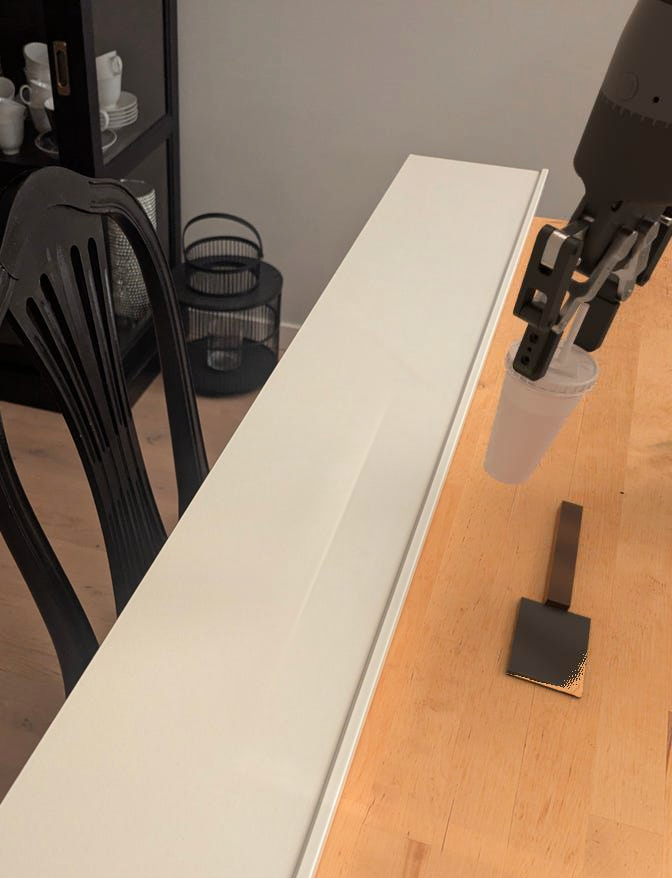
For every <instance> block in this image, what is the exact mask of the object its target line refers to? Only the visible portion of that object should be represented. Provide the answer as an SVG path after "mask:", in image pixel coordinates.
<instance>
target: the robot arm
mask: <svg viewBox="0 0 672 878" xmlns="http://www.w3.org/2000/svg"><path fill="white" fill-rule="evenodd" d="M572 165H573V169H574V172H575V173H576V175H577V176H578V177H579V178H580V179H581V182H582V183H583V186H584V189H585V190H584V191H585V193H584V195H583V196H582V198H581V199H580V201H579V203H578V205H577V207H576V208H575V210H574V212H573V213H572V214H571V216H570V218H569V220H568V222H567V223H566V225H565V226H563V227H562V228H558V227H556V226H553V225H551V224H549V223H546V224H544V225H543V226H541V228H540V229H539V231H538V232H537V234H536V238H535V240H534V244H533V246H532V247H533V248H532V250H531V253H530V256H529V259H528V262H527V265H526V269H525V271H524V274H523V278H522V281H521V285H520V287H519V290H518V294H517V296H516V300H515V303H514V306H513V309H512V315H513V317H514V316H515V317H516V318H518V319H520V320H521V321H523V322H525V323H527V326H526V328H525V331H524V333H523V336H522V337H521V338H522V341H521V343H520V346H519V348H518V351H517V353H516V356H515V358H514V361H513V364H512V366H513V369H514V370H515V371H516V372H517V373H519V374H521V375H522V376H524V377H526V378H527V379H529V380H531V381H537V380H539V379H541V378H543V377H544V376H545V374H546V372H547V370H548V367H549V365H550V363H551V360H552V358H553V356H554V353H555V351H556V349H557V346H558V344H559V342H560V340H561V339H562V338H563V335H564V333H565V331H564V330H566V328H567V326H568V324H569V323H570V321H571V320H572V319H573V317H574V315H576V313H577V311H578V309H579V307H580V305H581V303H587V304H588V305H589V308H588V310H587V313H586V315H585V317H584V319H583V322H582V324H581V326H580V328H579V331H578V333H577V335H576V337H575V340H574V342H573V344H575V345H577V346H579V347H581V348H583V349H584V350H585V351H587V352H588V353H593V352H595V351H597V350H599V349H600V348H601V347H602V345H603V342H604V341H605V338H606V336H607V334H608V332H609V330H610V328H611V326H612V323H613V321H614V319H615V317H616V315H617V313H618V311H619V309H620V306H621V305H622V304H621V302H622V303H626V301H628V299H629V298H630V297H631V296H633V295H632V294H633V291H635V290H634V289H635V287H636V286H639V288H640V287H641V288H643V287H644V286H645V285H646V284H647V283H648V282H649V281H650V279H651V277H652V275H653V273H654V271H655V269H656V267H657V265H658V263H659V262H660V259H661V258H662V256H663V254H664V252H665V250H666V248H667V247H668V245H669V242H670V241H671V239H672V0H637V2H636V3H635V6H634V7H633V9H632V11H631V13H630V15H629V17H628V19H627V21H626V23H625V25H624V27H623V29H622V31H621V33H620V36H619V38H618V40H617V43H616V46H615V49H614V50H613V54H612V56H611V59H610V62H609V64H608V67H607V70H606V72H605V75H604V78H603V80H602V83H601V84H600V87H599V90H598V93H597V95H596V98H595V101H594V103H593V106H592V108H591V112H590V114H589V116H588V119H587V122H586V124H585V127H584V130H583V133H582V135H581V137H580V140H579V143H578V145H577V148H576V151H575V154H574V156H573V160H572ZM575 272H576V273H577V274H580V275H582V276H583V277H586V278H587V279H586V280H585V281H577V280H575V279H574V278H573V276H574V273H575ZM635 285H636V286H635ZM567 293H568V297H567V299H566V300H565V297H566V295H567ZM564 301H565V302H564Z"/></svg>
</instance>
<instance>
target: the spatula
mask: <svg viewBox="0 0 672 878" xmlns="http://www.w3.org/2000/svg"><path fill="white" fill-rule="evenodd" d="M556 513H557V514H556V519H555V524H554V531H553V537H552V543H551V550H550V557H549V563H548V567H547V568H548V569H547V576H546V582H545V588H544V593H543V600H542V602H540V601H538V600H537V601H536V600H534V599H531V598H527V597H524V596H521V597H520V598H519V601H518V605H517V611H516V617H515V621H514V628H513V633H512V637H511V644H510V649H509V653H508V659H507V664H508V666H507V665H506V670H507V671H506V670H505V674H506V673H508V674H512V675H518V676H521V677H525V678H529V679H530V680H534V681H537V682H541V683H546V684H551V685H555V686H560V687H563V688H564V687H565V686H566V685H567V683H568V682H569V680H570V679H571V680H570V683H571V684H572V683H573V682H574V680H575V678H576V677H577V675H578V673H579V672H580V670H581V668H582V667H580V665H581V664H582V662H583V664H584V662H585V660H586V658H587V659H588V655H587V656H585V655H586V653H587V650H589V641H590V633H591V622H592V618H590V617H588V616H585V615H582V614H579V613H575V612H572V611H569V610H570V608H571V604H572V597H573V590H574V582H575V574H576V566H577V558H578V552H579V551H578V550H579V543H580V537H581V536H580V535H581V528H582V521H583V520H582V519H583V513H584V506H583V505H580V504H578V503H574V502H571V501H567V500H564V499H562V500H561V502H560V504H559V506H558V508H557V512H556ZM583 654H584V655H583ZM587 654H588V653H587ZM584 657H586V658H584ZM583 659H584V661H583ZM579 663H580V664H579ZM583 664H582V666H583ZM578 665H579V666H578ZM585 665H586V666H587V663H586V664H585ZM579 667H580V669H579ZM583 668H584V667H583ZM578 669H579V671H578ZM575 670H576V671H575ZM572 671H573V672H572ZM582 671H583V669H582ZM582 671H581V672H582ZM508 674H507V675H508ZM575 674H576V676H575ZM580 674H581V673H579V676H580ZM572 675H573V677H572ZM582 675H583V673H582ZM569 676H570V677H569ZM579 676H578V677H579ZM573 678H574V679H573ZM572 679H573V682H571V681H572ZM577 679H578V678H576V681H577ZM564 680H565V681H564ZM567 680H568V681H567ZM579 680H580V678H579ZM566 682H567V683H566ZM570 683H568V686H569V684H570ZM564 684H565V686H564ZM561 685H562V686H561ZM573 685H574V684H573ZM576 685H577V684H576ZM568 686H567V687H568ZM570 686H571V685H570ZM569 688H570V687H569ZM569 688H568V689H569Z"/></svg>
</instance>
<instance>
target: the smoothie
mask: <svg viewBox="0 0 672 878" xmlns="http://www.w3.org/2000/svg"><path fill="white" fill-rule="evenodd" d="M588 308H589V305H588V304H587V303H584V302H583V303H581V304H580V306H579V307H578V309H577V311H576V313H575V316H574V319H573V321H572V322H571V325H570V328H569V330H568V333H567V335H566V337H565V339H562V338H561V340H560V342H559V344H558V346H557V349H556V351H555V353H554V356H553V358H552V360H551V363H550V365H549V367H548V370H547V372H546V374H545V376H544V377H543V378H541V379H539V380H537V381H531V380H529V379H527V378H526V377H524V376H522V375H521V374H519V373H517V372H516V371H515V370H514V369H513V366H512V364H513V361H514V358H515V356H516V353H517V351H518V348H519V346H520V343H521V341H522V338H523V337H520V338H518V339H516V340H514V341H513V342H512V343H511V345H510V346H509V349H508V351H507V353H506V355H505V357H504V361H503V362H504V367H505V369H506V370H505V374H504V378H503V381H502V384H501V385H502V386H501V389H500V390H501V391H500V394H499V399H498V402H497V406H496V410H495V415H494V419H493V422H492V426H491V430H490V435H489V439H488V443H487V447H486V451H485V455H484V459H483V462H482V466H483V469H484V471H485V472H486V474H487V475H488V476H489V477H490V478H492V479H493V480H495V481H497V482H500V483H503V484H506V485H513V486H517V485H522V484H526V483H527V482H529V480H530V479H531V477H532V476H533V475H534V473H535V472H536V470H537V468H538V466H539V465H540V464H541V462H542V460H543V459H544V458H545V456H546V455H547V453H548V451H549V449H550V448H551V446H552V445H553V443H554V442H555V440H556V439H557V437H558V435H559V434H560V432H561V431H562V429H563V428H564V426H565V424H566V423H567V421H568V420H569V418H570V417H571V415H572V413H574V411H575V409H576V408H577V407H578V405H579V403H580V401H581V400H582V398H583V397H584V395H586V394H588V393H589V392H590V391H592V390H593V389H594V387H595V385H596V381H597V380H598V378H599V375H600V366H599V364H598V361H597V360H596V358H595V357H594V356H593V355H591V354H590V352H587V351H585V350H584V349H583V348H581V347H579V346H577V345H575V344H573V342H574V340H575V337H576V335H577V333H578V331H579V328H580V326H581V324H582V322H583V319H584V317H585V315H586V313H587V310H588Z"/></svg>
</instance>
